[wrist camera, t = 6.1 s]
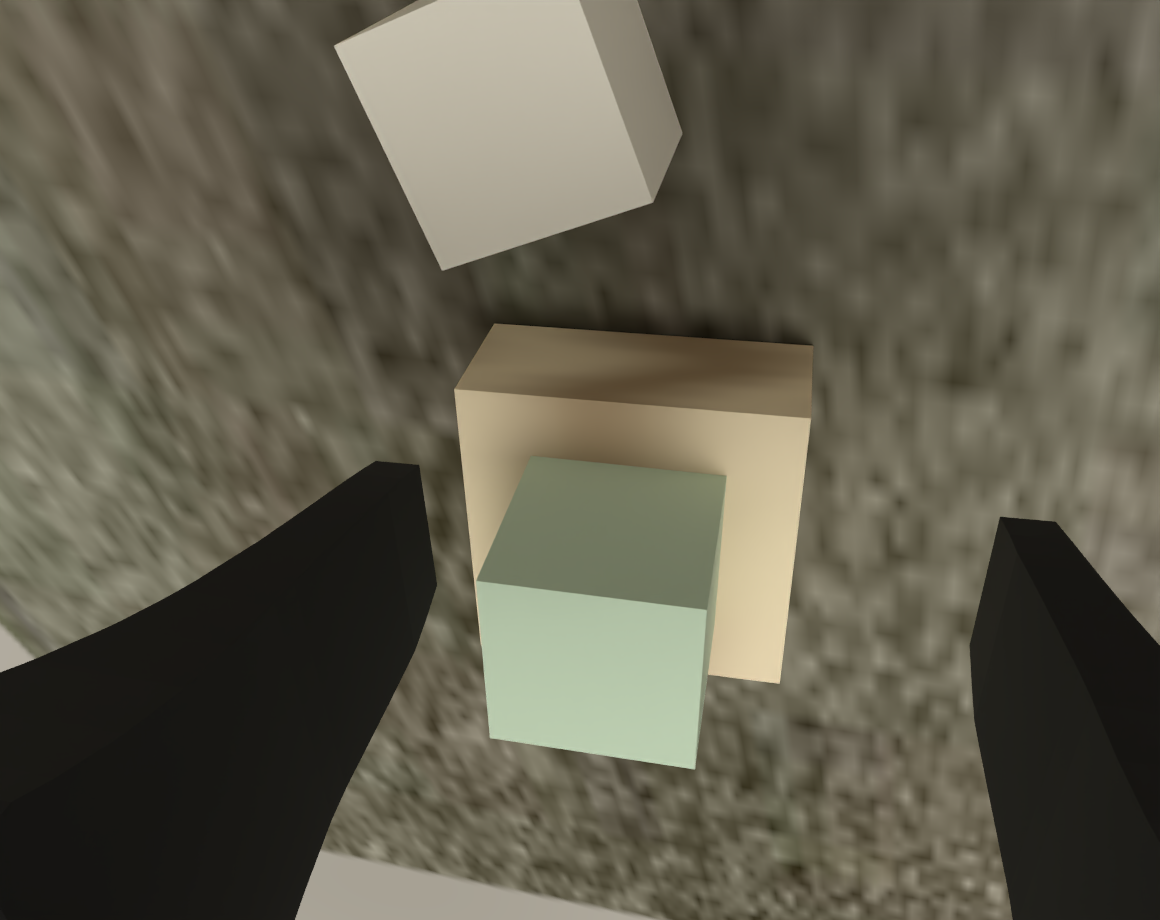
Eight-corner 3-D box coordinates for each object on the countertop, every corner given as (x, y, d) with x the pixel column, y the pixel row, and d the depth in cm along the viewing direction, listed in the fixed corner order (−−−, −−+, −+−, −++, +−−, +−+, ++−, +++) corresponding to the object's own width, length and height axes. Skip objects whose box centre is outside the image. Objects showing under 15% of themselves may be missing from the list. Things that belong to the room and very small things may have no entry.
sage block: (726, 476, 20) (706, 610, 17) (714, 625, 23) (694, 768, 19) (531, 455, 21) (476, 581, 18) (537, 602, 23) (490, 737, 20)
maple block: (813, 345, 22) (811, 418, 19) (784, 596, 26) (779, 683, 23) (494, 323, 23) (454, 389, 20) (513, 565, 27) (481, 644, 24)
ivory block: (609, -85, 18) (559, -53, 15) (682, 131, 20) (653, 202, 17) (417, 0, 20) (334, 45, 16) (502, 195, 21) (442, 271, 18)
